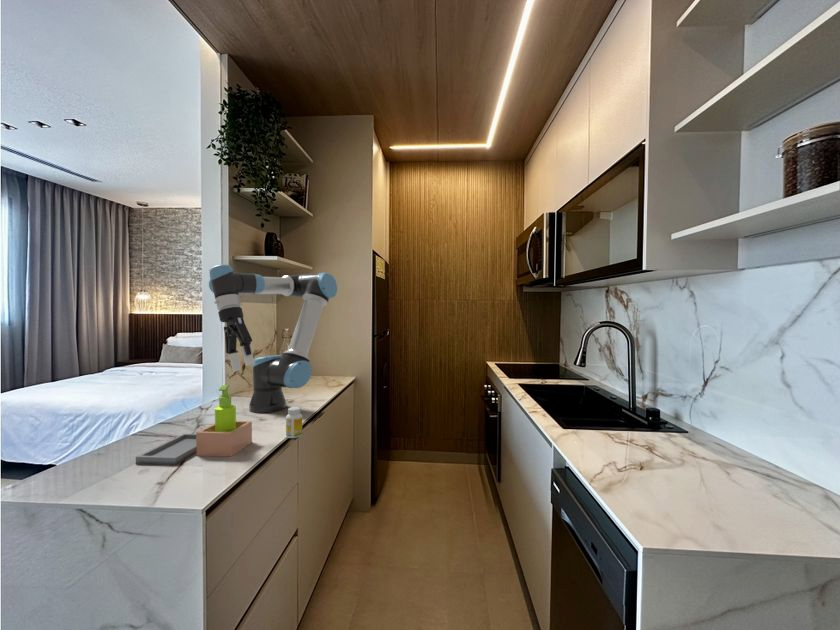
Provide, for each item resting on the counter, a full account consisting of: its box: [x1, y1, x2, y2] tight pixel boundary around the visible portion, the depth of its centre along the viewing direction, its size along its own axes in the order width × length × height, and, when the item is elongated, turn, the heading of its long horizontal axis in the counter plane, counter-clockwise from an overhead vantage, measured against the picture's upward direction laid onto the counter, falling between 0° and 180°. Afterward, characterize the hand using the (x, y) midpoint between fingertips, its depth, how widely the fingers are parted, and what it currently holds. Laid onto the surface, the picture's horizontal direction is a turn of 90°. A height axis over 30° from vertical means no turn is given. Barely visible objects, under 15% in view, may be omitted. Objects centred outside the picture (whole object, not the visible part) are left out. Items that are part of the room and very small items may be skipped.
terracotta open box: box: [195, 420, 253, 457], centre depth 121 cm, size 12×11×7 cm
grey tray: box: [135, 433, 197, 466], centre depth 119 cm, size 20×12×2 cm, turn 176°
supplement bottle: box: [285, 406, 303, 439], centre depth 133 cm, size 5×5×10 cm
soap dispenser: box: [214, 384, 237, 432], centre depth 121 cm, size 6×7×20 cm
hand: (243, 368), depth 131 cm, fingers open, 13 cm apart
